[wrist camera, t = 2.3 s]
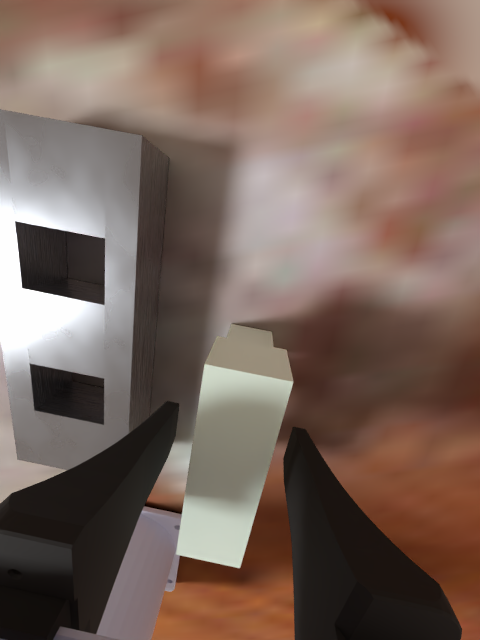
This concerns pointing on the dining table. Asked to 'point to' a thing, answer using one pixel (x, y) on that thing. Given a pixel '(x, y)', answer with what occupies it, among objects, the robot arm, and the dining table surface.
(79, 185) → the grey block with holes
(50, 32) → the dining table surface
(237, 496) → the notched cream block
